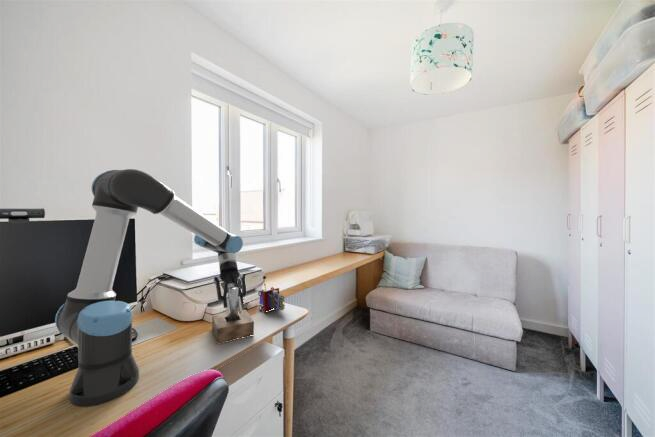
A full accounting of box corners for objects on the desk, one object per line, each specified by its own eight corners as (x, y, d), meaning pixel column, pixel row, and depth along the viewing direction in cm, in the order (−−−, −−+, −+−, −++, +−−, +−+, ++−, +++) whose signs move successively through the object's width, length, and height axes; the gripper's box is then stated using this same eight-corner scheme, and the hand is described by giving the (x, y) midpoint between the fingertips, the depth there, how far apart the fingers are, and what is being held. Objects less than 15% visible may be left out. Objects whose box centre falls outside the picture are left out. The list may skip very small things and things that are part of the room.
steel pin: (228, 323, 106) (229, 290, 105) (226, 320, 109) (227, 287, 109) (238, 321, 108) (239, 289, 107) (236, 318, 111) (237, 286, 111)
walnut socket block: (216, 344, 99) (217, 328, 99) (212, 328, 111) (212, 315, 111) (253, 335, 106) (253, 321, 106) (245, 322, 118) (245, 309, 118)
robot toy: (267, 304, 143) (291, 312, 130) (252, 309, 136) (277, 317, 123) (266, 273, 143) (290, 277, 130) (251, 276, 136) (275, 281, 123)
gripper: (245, 267, 125) (254, 313, 112) (207, 270, 117) (211, 321, 103) (248, 258, 121) (257, 305, 107) (208, 261, 112) (213, 313, 98)
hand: (234, 313), depth 105 cm, fingers closed on steel pin, 4 cm apart
